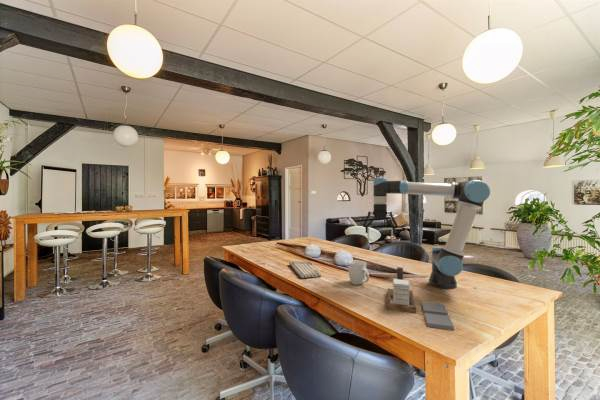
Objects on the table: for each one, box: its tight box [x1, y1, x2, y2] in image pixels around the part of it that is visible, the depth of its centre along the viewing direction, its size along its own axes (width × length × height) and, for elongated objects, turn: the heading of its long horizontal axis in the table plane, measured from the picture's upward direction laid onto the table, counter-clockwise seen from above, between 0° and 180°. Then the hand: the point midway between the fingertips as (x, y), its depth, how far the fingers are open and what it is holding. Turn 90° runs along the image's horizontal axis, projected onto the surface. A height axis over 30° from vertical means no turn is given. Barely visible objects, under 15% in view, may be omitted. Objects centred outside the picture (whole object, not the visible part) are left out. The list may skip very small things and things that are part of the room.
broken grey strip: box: [421, 300, 455, 331], centre depth 125 cm, size 10×24×2 cm, turn 161°
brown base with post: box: [386, 266, 417, 314], centre depth 142 cm, size 13×26×14 cm, turn 161°
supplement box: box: [392, 278, 410, 305], centre depth 134 cm, size 7×7×13 cm
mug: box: [347, 259, 370, 286], centre depth 168 cm, size 15×11×13 cm
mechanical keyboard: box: [287, 260, 323, 280], centre depth 198 cm, size 38×19×3 cm, turn 16°
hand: (380, 239), depth 162 cm, fingers open, 13 cm apart
